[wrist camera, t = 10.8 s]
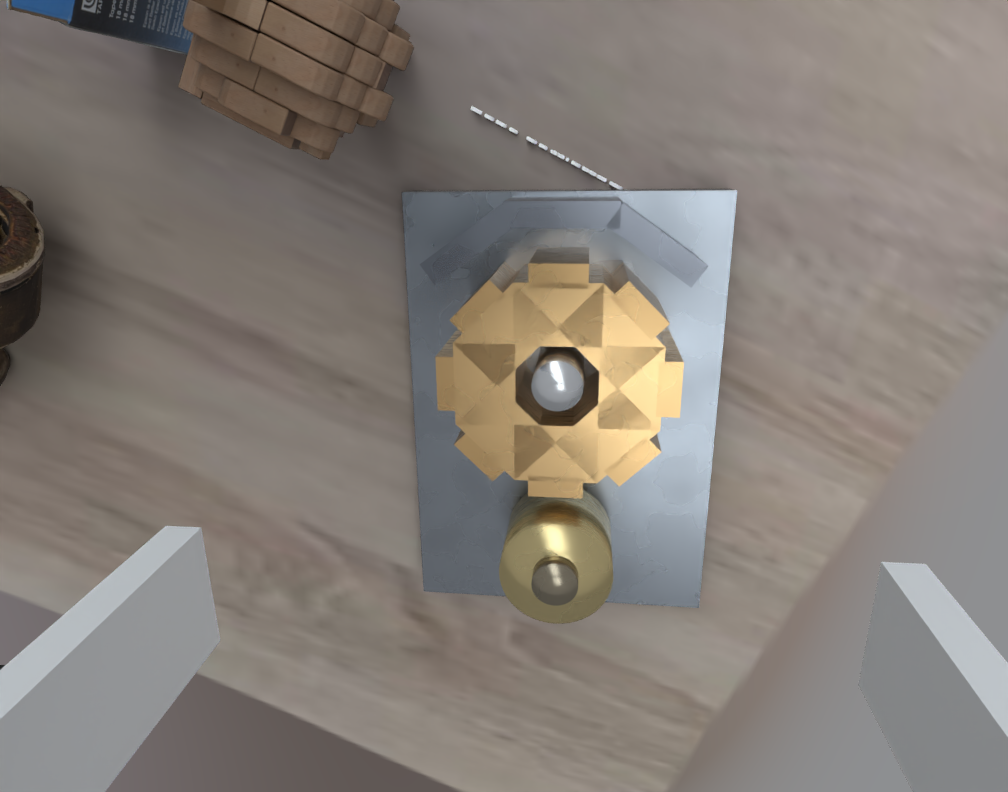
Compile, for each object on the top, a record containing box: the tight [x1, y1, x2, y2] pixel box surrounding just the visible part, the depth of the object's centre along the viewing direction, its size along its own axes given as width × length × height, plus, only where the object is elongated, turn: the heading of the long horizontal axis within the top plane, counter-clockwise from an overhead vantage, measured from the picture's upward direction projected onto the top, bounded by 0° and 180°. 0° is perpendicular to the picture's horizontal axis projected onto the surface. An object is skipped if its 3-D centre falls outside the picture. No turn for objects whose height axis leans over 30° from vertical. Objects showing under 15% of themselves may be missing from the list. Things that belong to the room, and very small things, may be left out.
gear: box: [435, 247, 684, 499], centre depth 29 cm, size 9×9×5 cm
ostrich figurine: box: [178, 0, 626, 190], centre depth 22 cm, size 17×7×18 cm, turn 64°
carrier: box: [402, 189, 737, 623], centre depth 31 cm, size 20×14×6 cm
